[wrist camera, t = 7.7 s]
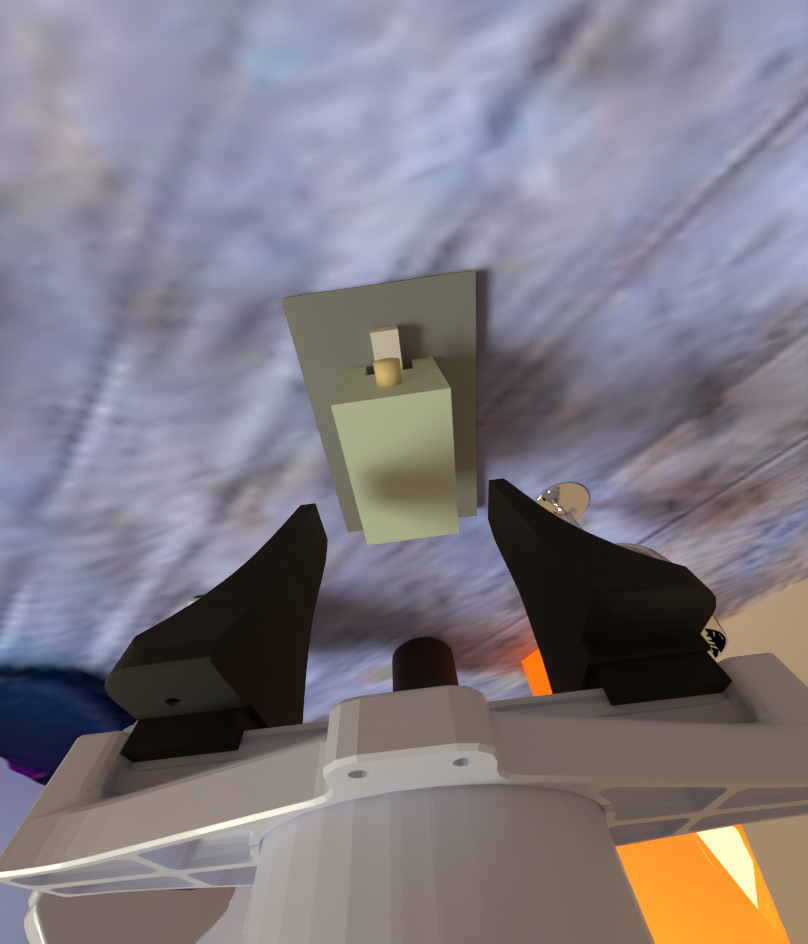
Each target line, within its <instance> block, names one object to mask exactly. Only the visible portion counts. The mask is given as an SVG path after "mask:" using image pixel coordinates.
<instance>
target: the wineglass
mask: <svg viewBox="0 0 808 944" xmlns="http://www.w3.org/2000/svg"><path fill="white" fill-rule="evenodd" d="M536 503H538V504H539V505H541V506H542V507H544V508H545V509H547V510H548V511H550V512H552V513H553V514H555V515H557V516H558V517H560V518H561V519H563V520H565V521H567V522H569V523H570V524H572V525H574V526H576V527H578V528H580V529H582V527H581V526H580V525H579V524H578V522H577V521H576V520H577V519H578V518H579V517H580V516H581V515H582V514H583V513H584V512H585V510H586V509H587V507H588V504H589V494H588V492H587V490H586V489H585V488H584V487H583V486H581V485H579V484H576V483H561V484H557V485H555V486H552V487H550V488H549V489H547V490H546V491H544V492H543V493H542V494H541V495H540V496H539V497H538V499H537V500H536ZM582 530H583V529H582ZM615 544H616V545H619V546H621V547H624V548H627V549H629V550H632V551H635V552H638V553H641V554H644V555H647V556H650V557H653V558H657V559H660V560H664V561H667V562H671V561H669V560H668V559H667V558H665V557H664V556H663V555H661V554H660V553H658V552H656V551H654V550H652V549H650V548H647V547H644V546H642V545H637V544H632V543H615ZM671 563H672V562H671ZM701 635H702V636H703V637H704V638H705V640H706V641H707V642H708V643H709V644H710V646H711V649H710V651H707V652H708V653H709V654H710V655H711V657H712V658H713V659H714V660H715V659H716V658H717V657H718V656H720V655H721V654H722V652H723V651H724V650H725V648H726V647H727V644H728V637H727V635H726V633H725V632H724V631H723V629H722V627H721V626H720V624H719V623H718V621H717V619H716V618H715V616H714V614H713V615H712V617H711V618H710V620H709V621H708V623H707V625H706V626H705V628H704V629H703V631H702V633H701Z"/></svg>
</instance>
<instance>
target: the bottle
mask: <svg viewBox="0 0 808 944" xmlns="http://www.w3.org/2000/svg"><path fill="white" fill-rule="evenodd" d="M392 668H393V692H397V691H405V690H413V689H421V688H430V687H438V686H446V685H456V686H459V685H458V679H457V674H456V668H455V663H454V657H453V653H452V651H451V648H450V647H449V646H448V645H447V644H445V643H443V642H441V641H439V640H435V639H416V640H412V641H409V642H407V643H404V644H403V645H401V646H400V647H399V648H398V649H396V651H395V653H394V654H393V659H392Z"/></svg>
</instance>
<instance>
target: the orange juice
mask: <svg viewBox="0 0 808 944" xmlns="http://www.w3.org/2000/svg"><path fill="white" fill-rule="evenodd" d="M521 662H522V665H523V667H524V670H525V673H526V676H527V679H528V682H529V684H530V687H531V690H532V693H533V696H540V695H549V694H552V690H551V687H550V684H549V680H548V677H547V673H546V670H545V667H544V664H543V661H542V657H541V654H540V651H539V649H537V650H536V651H535V652H533V653H532V654H531V655H529V656H528V657H527V658H525V659H524V660H523V661H521ZM616 848H617V850H618V853H619V855H620V858H621V860H622V863H623V865H624V868H625V870H626V873H627V875H628V877H629V880H630V882H631V885H632V887H633V890H634V892H635V895H636V897H637V900H638V902H639V904H640V907H641V909H642V912H643V914H644V917H645V919H646V922H647V924H648V927H649V929H650V932H651V934H652V936H653V939H654V941H655V944H790V942H789V940H788V938H787V935H786V933H785V930H784V928H783V925H782V923H781V921H780V918H779V916H778V913H777V911H776V909H775V906H774V904H773V901H772V899H771V896H770V894H769V892H768V889H767V887H766V884H765V882H764V880H763V877H762V875H761V872H760V870H759V868H758V865H757V863H756V860H755V858H754V855H753V853H752V851H751V848H750V846H749V844H748V841H747V838H746V836H745V834H744V831H743V829H742V826H741V825H736V826H730V827H724V828H718V829H712V830H707V831H701V832H696V833H690V834H685V835H679V836H674V837H668V838H663V839H657V840H652V841H646V842H641V843H635V844H630V845H624V846H619V847H616Z"/></svg>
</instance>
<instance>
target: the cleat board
mask: <svg viewBox="0 0 808 944" xmlns="http://www.w3.org/2000/svg"><path fill="white" fill-rule="evenodd" d="M281 300H282V304H283V307H284V311H285V314H286V318H287V321H288V325H289V328H290V332H291V335H292V339H293V342H294V346H295V349H296V353H297V356H298V360H299V363H300V367H301V370H302V374H303V377H304V381H305V384H306V388H307V391H308V395H309V398H310V401H311V405H312V408H313V412H314V415H315V419H316V422H317V426H318V429H319V433H320V436H321V440H322V443H323V447H324V450H325V454H326V457H327V461H328V464H329V468H330V471H331V475H332V478H333V482H334V485H335V489H336V492H337V496H338V499H339V502H340V506H341V509H342V513H343V516H344V520H345V523H346V527H347V530H348V532H352V531H360V530H363V527H362V523H361V519H360V515H359V511H358V508H357V504H356V500H355V496H354V492H353V488H352V485H351V481H350V477H349V473H348V469H347V466H346V462H345V458H344V454H343V450H342V446H341V443H340V439H339V435H338V431H337V427H336V424H335V420H334V416H333V412H332V408H331V404H332V401H333V399H334V396H335V394H336V392H337V389H338V387H339V384H340V382H341V379H342V377H343V374H344V372H345V370H346V369H352V368H359V367H366V368H367V373H368V375H372V374H375V371H374V365H373V362H375V361H377V360H380V359H384V358H399V359H400V366H401V370H406V369H412V362H411V360H413V359H420V358H427V357H433V359H434V361H435V362H436V364H437V366H438V368H439V369H440V371H441V373H442V374H443V376H444V378H445V379H446V381H447V383H448V384H449V386H450V388H451V403H452V421H453V439H454V458H455V476H456V494H457V512H458V518H460V517H467V516H475V515H477V416H476V270H472V271H465V272H458V273H451V274H444V275H437V276H430V277H423V278H416V279H410V280H403V281H396V282H389V283H382V284H375V285H368V286H361V287H355V288H348V289H341V290H334V291H327V292H320V293H313V294H306V295H300V296H293V297H286V298H281Z"/></svg>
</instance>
